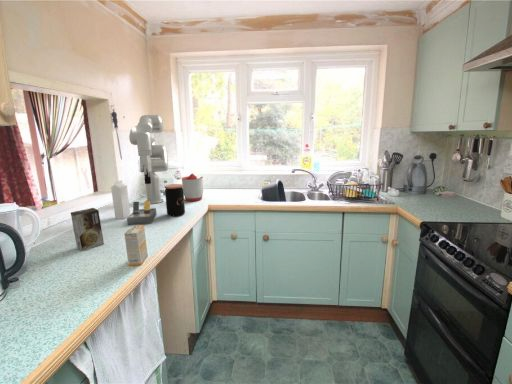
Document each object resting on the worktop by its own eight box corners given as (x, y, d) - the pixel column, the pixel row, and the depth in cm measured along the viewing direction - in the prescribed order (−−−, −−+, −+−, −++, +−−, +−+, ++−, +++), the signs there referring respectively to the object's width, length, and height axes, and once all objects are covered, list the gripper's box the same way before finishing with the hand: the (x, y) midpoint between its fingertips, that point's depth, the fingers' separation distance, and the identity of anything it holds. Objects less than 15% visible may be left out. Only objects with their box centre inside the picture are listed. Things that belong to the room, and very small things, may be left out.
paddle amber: (144, 212, 155) (144, 201, 157) (150, 212, 155) (150, 201, 157) (143, 212, 153) (144, 201, 155) (149, 211, 154) (149, 200, 156)
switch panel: (135, 215, 162) (135, 209, 161) (156, 214, 164) (155, 207, 163) (127, 225, 145) (126, 217, 144) (151, 223, 147) (150, 216, 146)
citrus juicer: (210, 198, 205) (208, 172, 201) (193, 203, 191) (191, 175, 186) (195, 196, 213) (193, 171, 209) (178, 200, 199) (176, 174, 195)
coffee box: (98, 241, 124) (93, 207, 120) (104, 244, 119) (99, 209, 116) (76, 247, 117) (70, 212, 113) (81, 251, 113) (75, 214, 109)
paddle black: (133, 213, 154) (133, 202, 156) (139, 213, 154) (139, 202, 156) (132, 212, 152) (133, 201, 154) (138, 212, 153) (138, 201, 155)
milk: (115, 218, 158) (109, 182, 153) (122, 215, 163) (117, 180, 159) (124, 219, 156) (118, 182, 152) (131, 216, 162) (126, 180, 157)
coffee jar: (180, 217, 157) (177, 187, 154) (163, 216, 159) (160, 187, 156) (188, 212, 168) (186, 184, 164) (172, 211, 170) (170, 183, 166)
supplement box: (135, 256, 106) (131, 225, 104) (148, 256, 107) (144, 224, 104) (127, 266, 98) (123, 233, 95) (141, 265, 99) (137, 232, 96)
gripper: (141, 153, 165) (144, 182, 168) (135, 153, 151) (138, 185, 154) (153, 152, 166) (156, 181, 170) (149, 153, 152) (152, 185, 155)
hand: (148, 183), depth 162 cm, fingers closed
